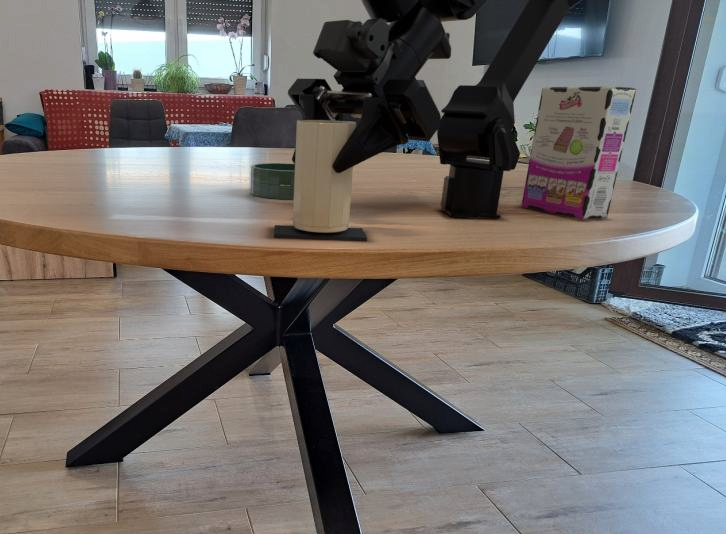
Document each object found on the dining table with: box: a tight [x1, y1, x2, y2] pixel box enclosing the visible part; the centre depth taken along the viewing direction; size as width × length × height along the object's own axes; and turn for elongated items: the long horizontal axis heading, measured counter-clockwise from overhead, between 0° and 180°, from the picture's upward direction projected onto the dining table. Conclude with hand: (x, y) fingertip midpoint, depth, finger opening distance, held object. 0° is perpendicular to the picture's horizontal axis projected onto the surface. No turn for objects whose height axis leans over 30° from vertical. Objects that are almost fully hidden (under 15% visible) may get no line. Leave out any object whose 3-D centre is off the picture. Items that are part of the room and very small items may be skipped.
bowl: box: [249, 162, 295, 201], centre depth 93 cm, size 10×10×4 cm
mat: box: [273, 224, 368, 242], centre depth 71 cm, size 10×5×1 cm, turn 88°
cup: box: [292, 119, 357, 233], centre depth 68 cm, size 6×6×11 cm
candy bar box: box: [520, 86, 637, 221], centre depth 86 cm, size 11×5×16 cm, turn 25°
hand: (314, 166), depth 67 cm, fingers closed on cup, 6 cm apart
